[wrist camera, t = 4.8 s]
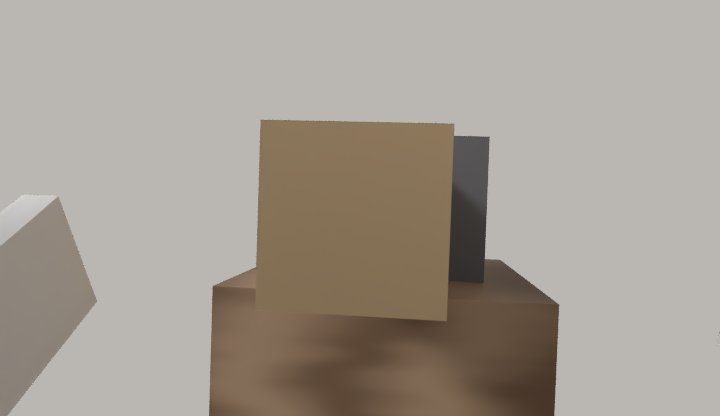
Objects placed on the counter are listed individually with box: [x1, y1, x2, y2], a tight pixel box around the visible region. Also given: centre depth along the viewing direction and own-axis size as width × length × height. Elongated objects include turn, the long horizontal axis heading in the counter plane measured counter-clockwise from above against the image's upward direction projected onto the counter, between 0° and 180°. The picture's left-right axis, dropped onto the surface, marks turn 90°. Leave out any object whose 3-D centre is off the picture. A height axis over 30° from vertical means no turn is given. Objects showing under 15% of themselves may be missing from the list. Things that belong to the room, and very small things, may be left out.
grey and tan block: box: [255, 120, 489, 321], centre depth 20 cm, size 8×21×6 cm, turn 174°
